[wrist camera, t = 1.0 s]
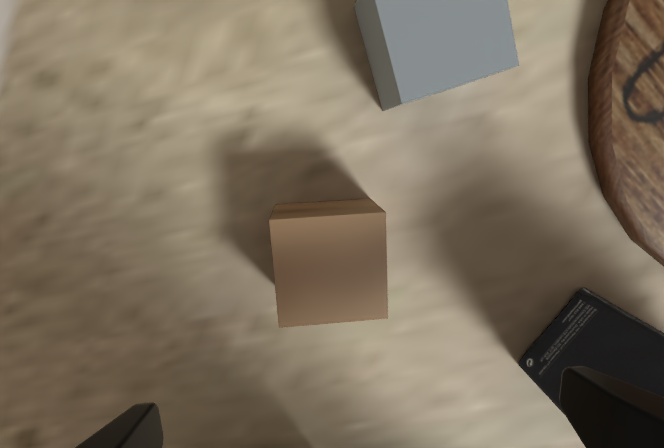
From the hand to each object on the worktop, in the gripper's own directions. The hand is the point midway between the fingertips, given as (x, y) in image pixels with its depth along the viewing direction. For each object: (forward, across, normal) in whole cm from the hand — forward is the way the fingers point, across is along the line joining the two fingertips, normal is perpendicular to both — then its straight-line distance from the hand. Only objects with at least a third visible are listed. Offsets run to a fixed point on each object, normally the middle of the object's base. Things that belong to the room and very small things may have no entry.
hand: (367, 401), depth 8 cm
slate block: (+12, -5, -10) cm, 17 cm away
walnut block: (+12, 0, 0) cm, 13 cm away
